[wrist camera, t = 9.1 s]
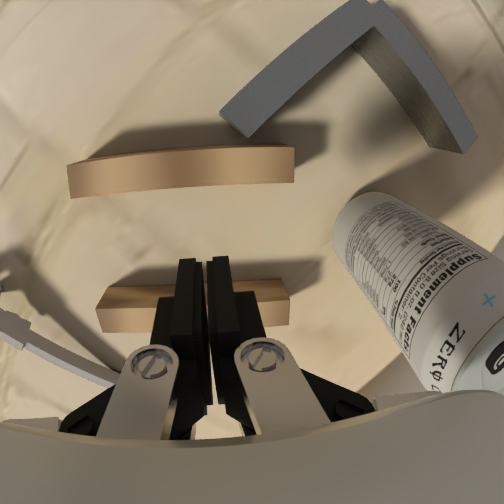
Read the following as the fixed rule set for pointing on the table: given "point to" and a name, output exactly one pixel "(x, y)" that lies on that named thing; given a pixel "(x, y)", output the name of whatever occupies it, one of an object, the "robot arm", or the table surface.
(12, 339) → the caliper
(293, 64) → the gray l-shaped block
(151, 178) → the guide channel
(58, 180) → the table surface
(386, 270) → the energy drink can
